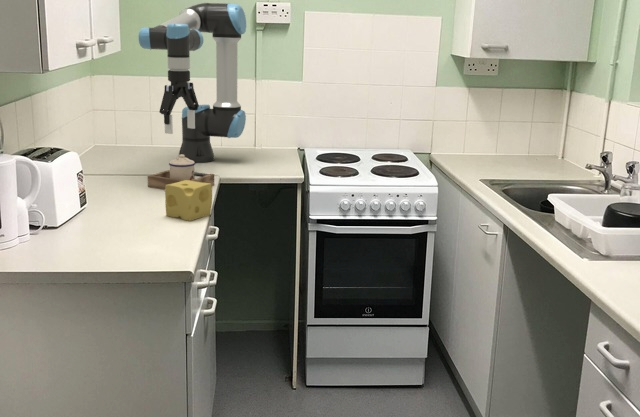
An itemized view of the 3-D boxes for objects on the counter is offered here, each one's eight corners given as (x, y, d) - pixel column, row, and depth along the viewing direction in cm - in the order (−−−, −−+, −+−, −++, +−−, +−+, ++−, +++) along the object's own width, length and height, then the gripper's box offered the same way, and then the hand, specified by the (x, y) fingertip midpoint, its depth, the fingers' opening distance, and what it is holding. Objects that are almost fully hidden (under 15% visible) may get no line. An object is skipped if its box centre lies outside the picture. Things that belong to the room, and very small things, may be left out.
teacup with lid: (195, 189, 248) (195, 157, 245) (169, 189, 246) (168, 157, 243) (194, 181, 259) (193, 150, 256) (169, 182, 257) (168, 151, 254)
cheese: (190, 221, 208) (189, 189, 206) (163, 215, 214) (162, 184, 211) (213, 214, 217) (212, 183, 215) (187, 209, 223) (186, 178, 220)
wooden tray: (173, 179, 262) (173, 168, 261) (214, 184, 255) (214, 174, 254) (147, 187, 249) (147, 176, 248) (190, 193, 242) (190, 182, 241)
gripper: (190, 67, 254) (191, 125, 259) (147, 71, 232) (149, 134, 237) (207, 68, 251) (208, 127, 256) (166, 72, 229) (168, 136, 234)
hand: (180, 130), depth 247 cm, fingers open, 13 cm apart
